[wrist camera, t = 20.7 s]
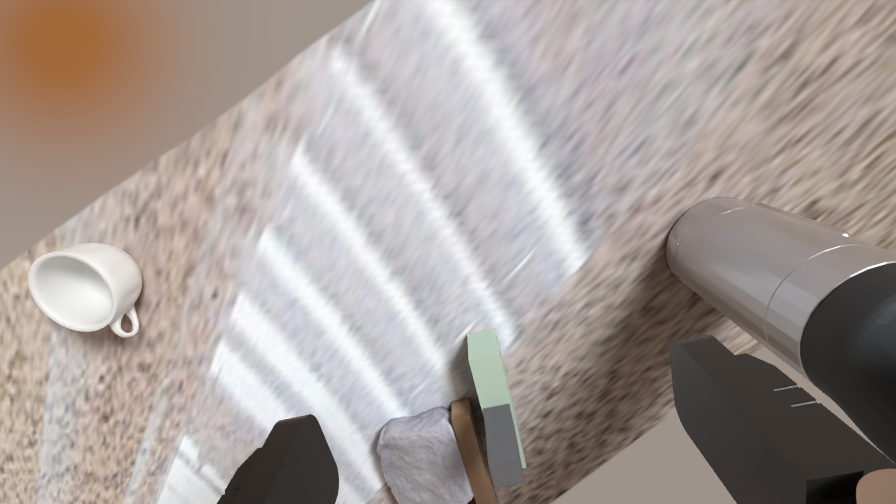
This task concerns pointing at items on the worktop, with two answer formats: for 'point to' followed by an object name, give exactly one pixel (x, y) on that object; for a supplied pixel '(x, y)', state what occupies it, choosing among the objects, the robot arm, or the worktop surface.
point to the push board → (490, 374)
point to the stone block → (424, 459)
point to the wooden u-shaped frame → (472, 453)
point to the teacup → (87, 287)
